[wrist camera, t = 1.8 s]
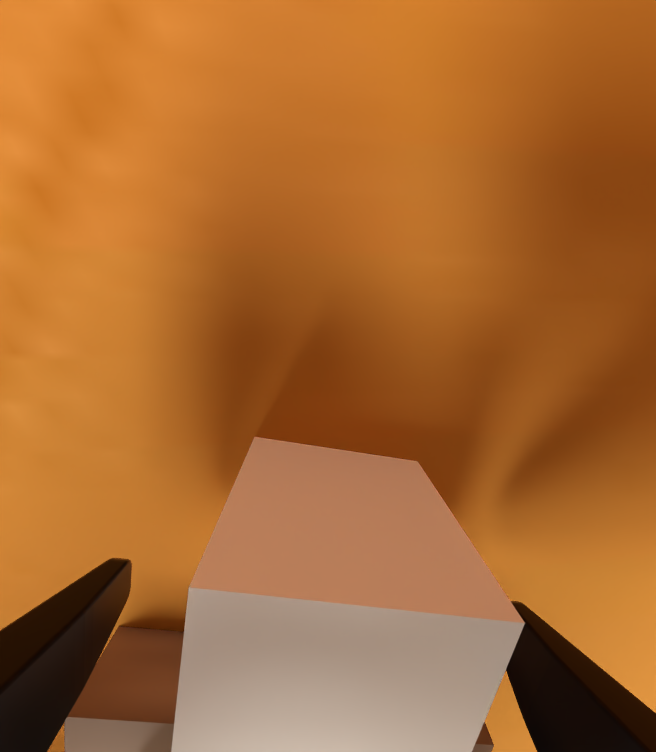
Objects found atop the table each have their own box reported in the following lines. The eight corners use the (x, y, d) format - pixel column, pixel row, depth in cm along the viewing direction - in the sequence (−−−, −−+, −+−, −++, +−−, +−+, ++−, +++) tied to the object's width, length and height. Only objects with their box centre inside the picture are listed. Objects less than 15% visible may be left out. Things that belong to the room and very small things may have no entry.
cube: (381, 590, 11) (438, 831, 6) (234, 574, 10) (163, 821, 5) (416, 460, 10) (525, 623, 5) (254, 435, 9) (189, 587, 4)
